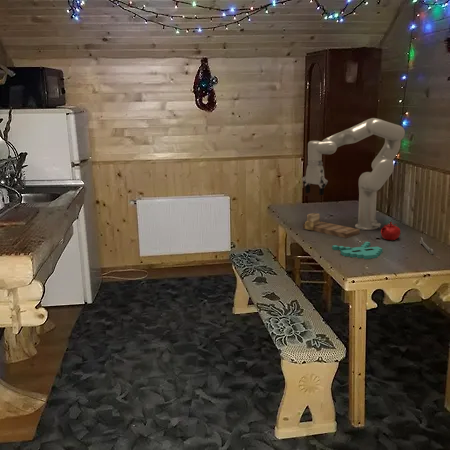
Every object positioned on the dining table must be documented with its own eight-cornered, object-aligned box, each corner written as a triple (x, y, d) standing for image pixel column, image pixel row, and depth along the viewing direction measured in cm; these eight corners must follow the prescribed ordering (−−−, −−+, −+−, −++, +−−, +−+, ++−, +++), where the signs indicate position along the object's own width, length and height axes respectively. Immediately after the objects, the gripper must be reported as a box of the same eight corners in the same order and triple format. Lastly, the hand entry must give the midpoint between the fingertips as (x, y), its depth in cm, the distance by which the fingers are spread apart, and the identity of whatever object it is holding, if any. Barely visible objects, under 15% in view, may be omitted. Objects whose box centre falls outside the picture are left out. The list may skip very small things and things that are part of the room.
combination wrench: (433, 248, 246) (422, 236, 266) (430, 248, 247) (419, 236, 266) (433, 256, 248) (421, 243, 267) (430, 256, 248) (419, 243, 267)
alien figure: (332, 249, 261) (351, 261, 242) (332, 245, 260) (352, 257, 242) (368, 245, 266) (390, 257, 247) (368, 241, 265) (390, 252, 247)
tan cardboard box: (320, 228, 298) (320, 214, 296) (312, 230, 294) (312, 216, 292) (313, 226, 302) (313, 212, 300) (305, 228, 297) (305, 214, 295)
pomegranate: (402, 238, 277) (403, 221, 275) (396, 242, 269) (398, 224, 267) (383, 235, 282) (385, 218, 280) (377, 239, 274) (378, 222, 272)
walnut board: (359, 233, 286) (359, 229, 286) (346, 238, 279) (346, 233, 278) (316, 224, 308) (316, 220, 308) (302, 228, 301) (302, 224, 300)
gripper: (331, 163, 285) (331, 194, 290) (306, 161, 298) (306, 191, 302) (323, 165, 281) (322, 196, 285) (298, 163, 293) (298, 193, 297)
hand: (314, 193), depth 294 cm, fingers open, 9 cm apart
